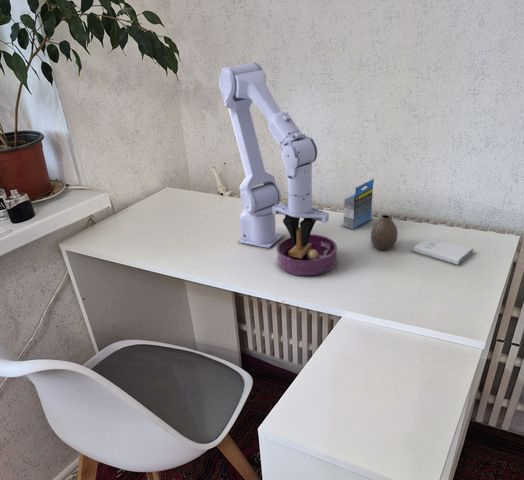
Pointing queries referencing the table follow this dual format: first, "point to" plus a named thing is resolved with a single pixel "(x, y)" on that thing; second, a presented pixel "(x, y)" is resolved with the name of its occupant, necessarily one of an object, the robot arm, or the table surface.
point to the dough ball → (312, 254)
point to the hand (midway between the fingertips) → (300, 244)
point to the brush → (299, 247)
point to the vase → (384, 233)
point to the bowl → (307, 267)
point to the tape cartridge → (358, 206)
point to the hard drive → (443, 250)
